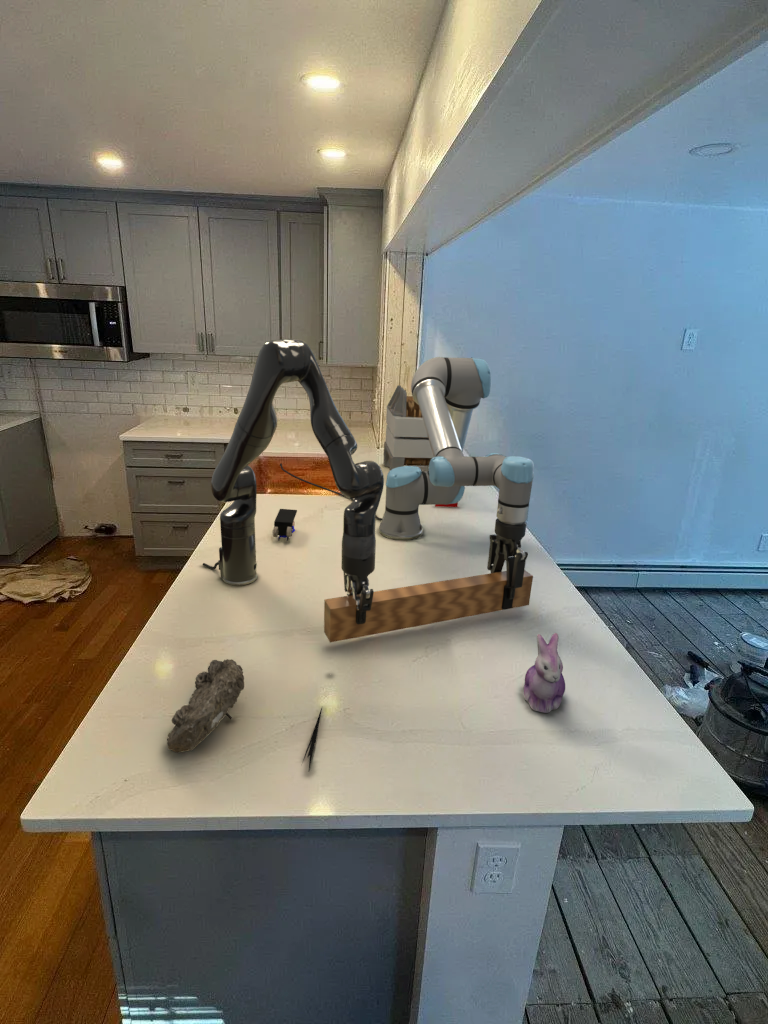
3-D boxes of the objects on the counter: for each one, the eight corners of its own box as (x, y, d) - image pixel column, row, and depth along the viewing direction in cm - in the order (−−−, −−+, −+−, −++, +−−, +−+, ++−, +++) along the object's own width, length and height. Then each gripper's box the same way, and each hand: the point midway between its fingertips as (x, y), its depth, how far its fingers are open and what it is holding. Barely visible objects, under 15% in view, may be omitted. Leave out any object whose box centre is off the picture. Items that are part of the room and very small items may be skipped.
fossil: (192, 660, 117) (244, 628, 112) (224, 691, 120) (276, 661, 115) (142, 746, 98) (202, 712, 93) (182, 779, 101) (242, 748, 96)
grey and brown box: (382, 463, 289) (386, 382, 275) (445, 464, 293) (451, 384, 279) (390, 482, 257) (394, 392, 243) (460, 483, 261) (468, 394, 247)
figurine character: (292, 547, 188) (298, 526, 201) (292, 527, 184) (297, 507, 198) (272, 547, 187) (279, 526, 201) (271, 526, 184) (278, 506, 197)
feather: (331, 679, 122) (336, 673, 122) (307, 777, 96) (313, 769, 95) (324, 675, 122) (329, 669, 121) (298, 772, 95) (304, 764, 95)
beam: (518, 597, 153) (522, 568, 150) (529, 605, 149) (533, 575, 146) (324, 632, 132) (324, 599, 130) (330, 642, 128) (330, 609, 125)
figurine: (543, 721, 111) (554, 655, 106) (509, 690, 119) (518, 628, 114) (578, 708, 115) (591, 644, 110) (543, 679, 123) (553, 619, 118)
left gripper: (332, 540, 131) (331, 605, 137) (353, 565, 118) (351, 636, 124) (363, 536, 134) (361, 600, 139) (386, 561, 121) (383, 630, 127)
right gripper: (479, 509, 146) (470, 590, 154) (520, 534, 131) (508, 622, 139) (503, 506, 149) (494, 586, 157) (546, 531, 134) (533, 617, 142)
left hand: (356, 617), depth 132 cm, fingers closed on beam, 4 cm apart
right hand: (500, 603), depth 148 cm, fingers closed on beam, 5 cm apart
